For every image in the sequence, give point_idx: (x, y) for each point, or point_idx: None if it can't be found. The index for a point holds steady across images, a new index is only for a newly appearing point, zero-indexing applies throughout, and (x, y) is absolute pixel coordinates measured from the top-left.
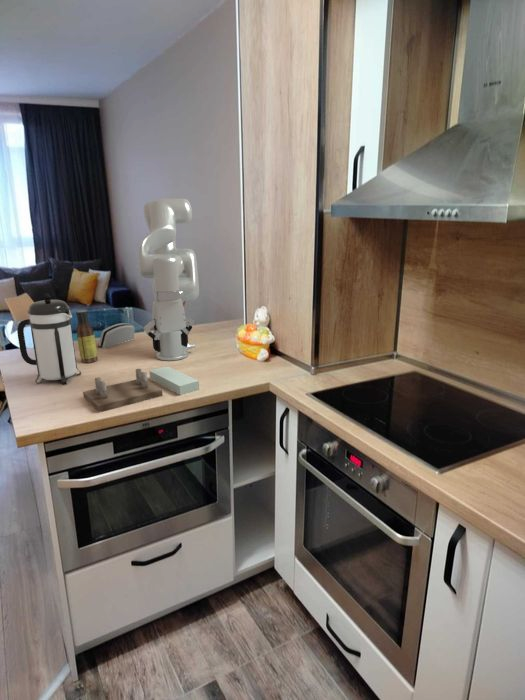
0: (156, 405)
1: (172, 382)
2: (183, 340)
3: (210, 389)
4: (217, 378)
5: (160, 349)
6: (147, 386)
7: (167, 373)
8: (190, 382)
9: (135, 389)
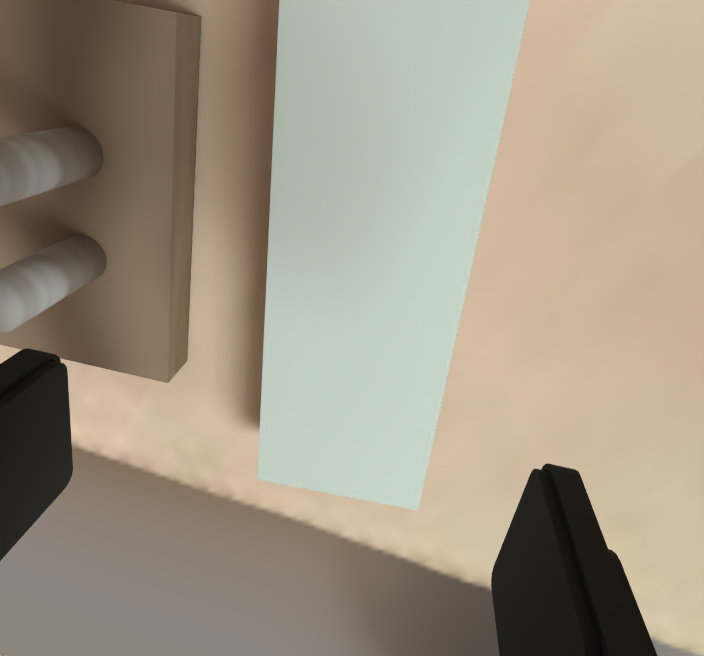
0: (94, 435)
1: (261, 393)
2: (520, 618)
3: (471, 509)
4: (688, 423)
5: (52, 500)
6: (93, 279)
7: (364, 186)
8: (355, 488)
9: (13, 228)
